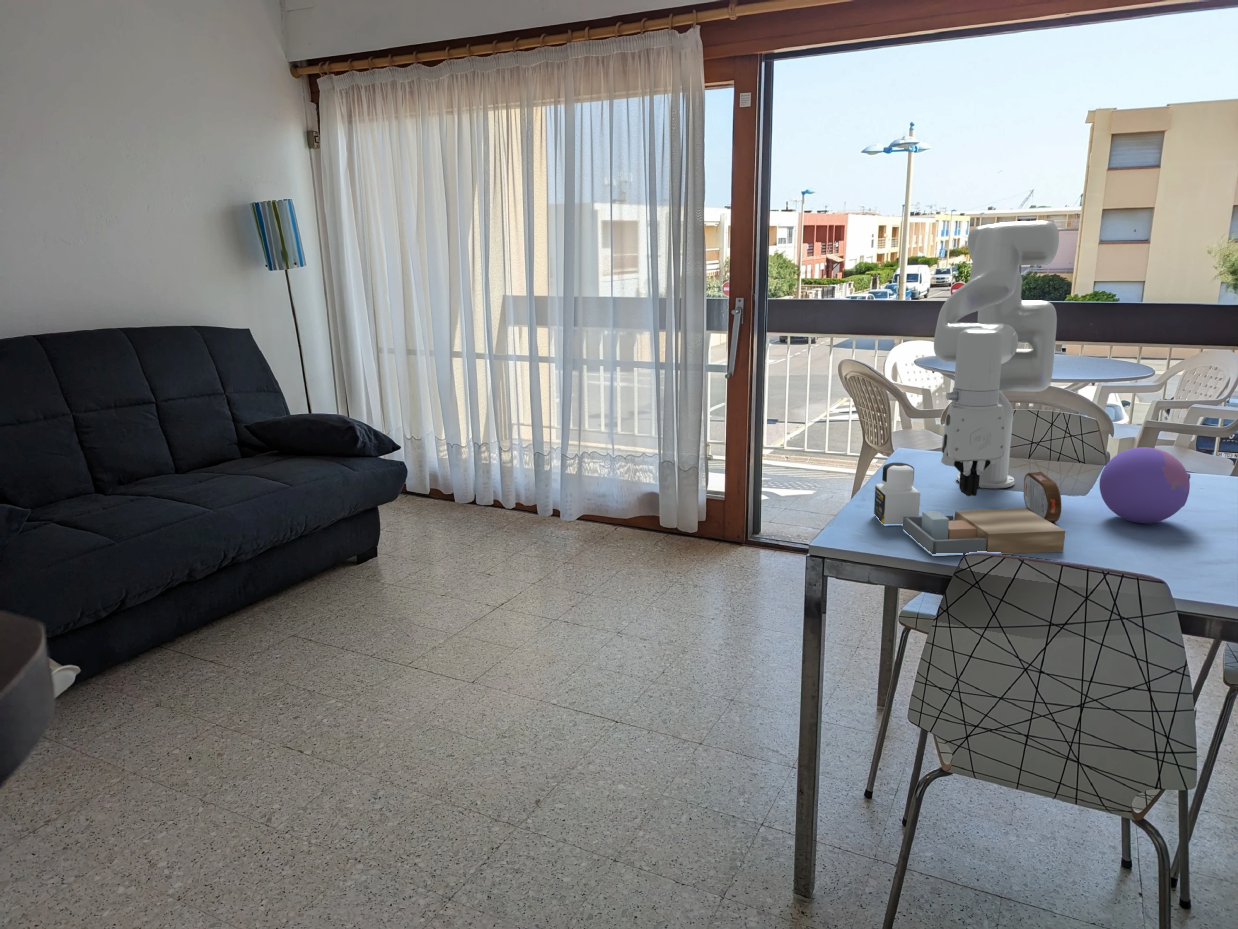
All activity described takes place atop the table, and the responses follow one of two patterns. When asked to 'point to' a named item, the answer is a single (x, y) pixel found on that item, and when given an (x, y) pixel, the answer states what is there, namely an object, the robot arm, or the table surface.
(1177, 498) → the decorative ball
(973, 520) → the board
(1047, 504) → the tin
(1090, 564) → the table surface
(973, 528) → the tile terracotta
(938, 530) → the tile slate
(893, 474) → the medicine bottle
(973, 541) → the tray
